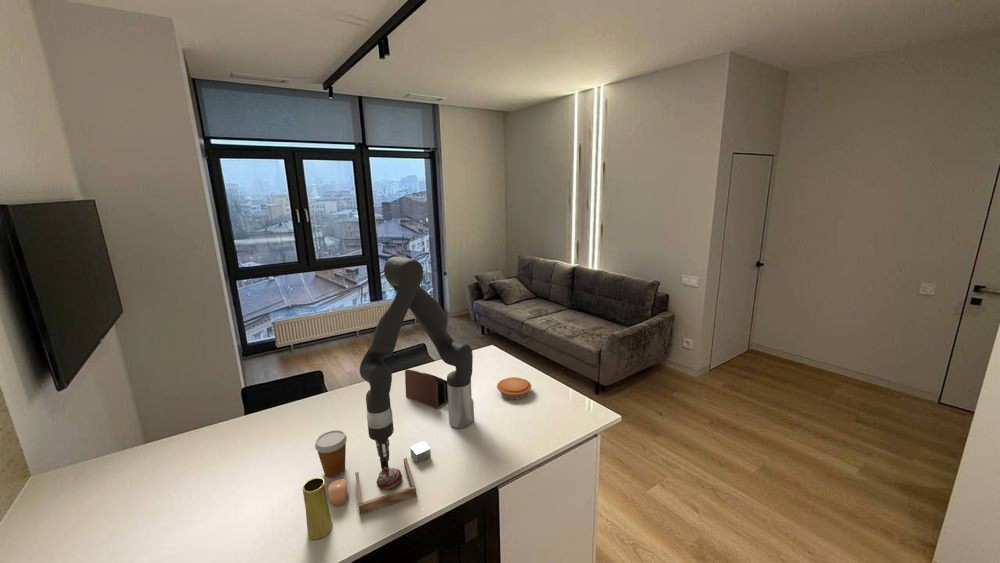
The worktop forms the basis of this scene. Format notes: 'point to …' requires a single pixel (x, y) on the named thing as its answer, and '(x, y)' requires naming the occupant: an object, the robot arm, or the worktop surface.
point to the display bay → (389, 498)
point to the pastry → (389, 478)
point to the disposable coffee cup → (332, 452)
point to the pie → (514, 387)
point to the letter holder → (426, 388)
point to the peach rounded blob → (338, 492)
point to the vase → (317, 508)
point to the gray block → (420, 452)
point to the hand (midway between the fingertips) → (384, 468)
